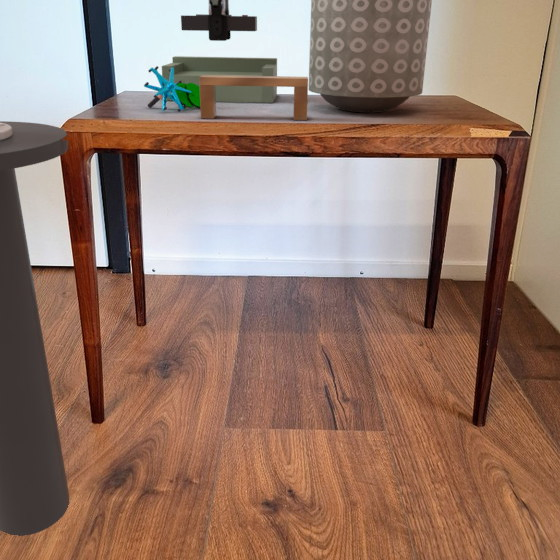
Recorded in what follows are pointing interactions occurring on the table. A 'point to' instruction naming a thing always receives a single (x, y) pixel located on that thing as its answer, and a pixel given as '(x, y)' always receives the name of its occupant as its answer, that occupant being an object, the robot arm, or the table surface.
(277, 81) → the wooden bench stand
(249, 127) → the table surface
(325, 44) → the planter
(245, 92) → the sofa
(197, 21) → the bar
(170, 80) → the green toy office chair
